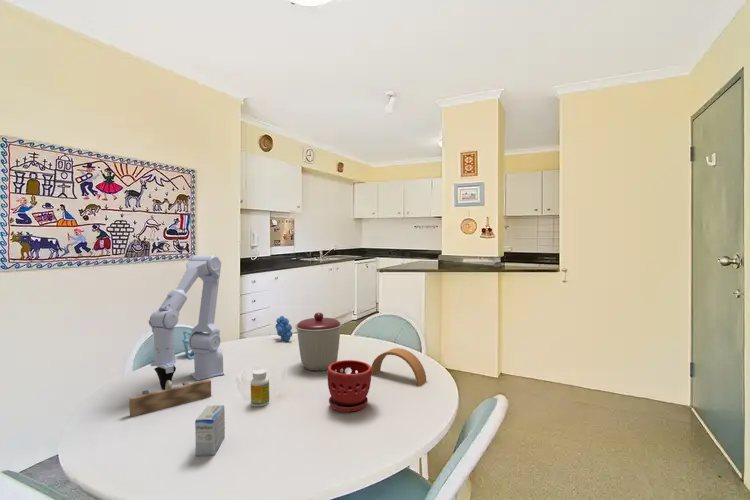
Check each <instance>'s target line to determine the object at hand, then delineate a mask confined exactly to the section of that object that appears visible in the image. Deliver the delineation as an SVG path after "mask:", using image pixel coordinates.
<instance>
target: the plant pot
mask: <svg viewBox="0 0 750 500" xmlns="http://www.w3.org/2000/svg"><path fill="white" fill-rule="evenodd" d="M371 366H372V365H370V363H369V364H368V363H367V362H365V361H360V360H354V359H353V360H352V359H347V360H345V359H343V360H337V362H334V363H331V364H330V365H329V366H328V369H327V387H328V391H329V394H330V397H329V398H328V403H329V406H330V407H331V408H333V409H335V410H336V411H339V412H343V413H344V412H345V413H346V412H348V413H349V412H350V413H351V412H357V411H359V410H362V409H364V408H365V406H367V404H368V401H369V399H368V397H367V396H368V394H369V392H370V387H371V381H372V375H371ZM346 369H350V370H351V372H350V373H346ZM341 370H342V371H341ZM356 371H357V372H356Z"/></svg>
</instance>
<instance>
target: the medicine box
mask: <svg viewBox="0 0 750 500" xmlns="http://www.w3.org/2000/svg"><path fill="white" fill-rule="evenodd" d="M225 414H226V413H225V405H224V404H223V405H222V404H221V405H219V404H218V405H216V404H215V405H206V407H205V408H204V409H203V411H202V412H201V413H200V414H199V416H198V417H197V418H196V419H195V422H194V423H195V424H194V425H195V426H194V429H195V432H194V433H195V434H194V436H195V456H196V457H205V456H206V457H207V456H215V455H216V453H217V451H218V450H219V448H220V447H221V444H222V443H223V441H224V439H225V436H226V435H225V433H226V427H225V424H226V422H225V420H226V419H225Z"/></svg>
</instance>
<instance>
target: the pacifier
mask: <svg viewBox="0 0 750 500" xmlns="http://www.w3.org/2000/svg"><path fill="white" fill-rule="evenodd" d="M172 386H173V383H172V381H170V380H167V382H166V385H165V390H166V389H170V388H173V387H172Z"/></svg>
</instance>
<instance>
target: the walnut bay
mask: <svg viewBox="0 0 750 500" xmlns="http://www.w3.org/2000/svg"><path fill="white" fill-rule="evenodd" d="M210 397H212V380H211V379H210V378H208V379H205V380H201V381H197V382H193V383H190V382H189V381H188V380H186V381H182V385H180V386H176V387H171V388H170V389H166V390H162V389H161V390H158V391H153V392H150V391H149V390H148V389H146V390H145V389H144V390H142V394H141V395H136V396H131V397H129V398H128V400H129V401H128V402H129V405H128V406H129V417H130V418H132V417H136V416H140V415H143V414H144V415H145V414H147V413H151V412H156V411H159V410H160V411H161V410H163V409H167V408H172V407H175V406H179V405H182V404H187V403H191V402H194V400H195V401H199V400H202V399H206V398H210ZM198 399H199V400H198Z"/></svg>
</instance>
